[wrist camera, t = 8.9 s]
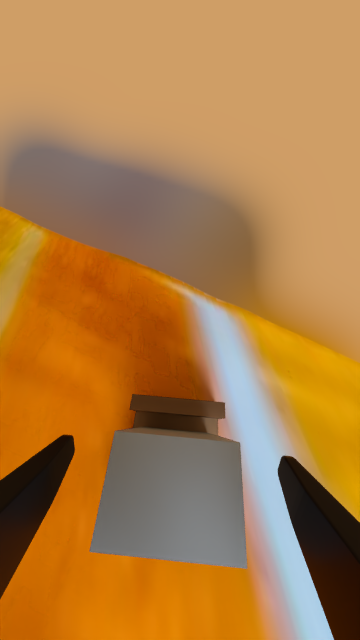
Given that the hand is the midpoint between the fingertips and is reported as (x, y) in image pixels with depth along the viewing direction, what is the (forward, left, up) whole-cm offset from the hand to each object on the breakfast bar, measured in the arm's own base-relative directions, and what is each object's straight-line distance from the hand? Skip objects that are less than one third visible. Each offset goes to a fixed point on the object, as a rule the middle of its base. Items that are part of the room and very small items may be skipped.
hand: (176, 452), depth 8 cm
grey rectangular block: (-1, -1, -11) cm, 11 cm away
